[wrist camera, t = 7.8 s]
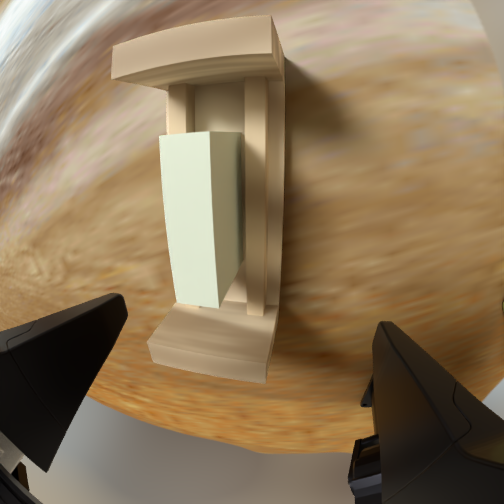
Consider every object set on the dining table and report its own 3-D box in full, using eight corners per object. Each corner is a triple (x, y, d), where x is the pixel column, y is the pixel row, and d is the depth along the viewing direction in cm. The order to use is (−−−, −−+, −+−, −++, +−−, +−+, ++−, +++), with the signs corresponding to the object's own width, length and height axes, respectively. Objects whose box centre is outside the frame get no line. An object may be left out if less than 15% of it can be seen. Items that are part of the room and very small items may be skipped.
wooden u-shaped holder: (278, 319, 23) (265, 383, 16) (188, 308, 24) (153, 362, 18) (284, 56, 15) (270, 15, 8) (171, 67, 16) (113, 46, 10)
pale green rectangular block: (243, 261, 20) (219, 308, 15) (200, 257, 21) (165, 300, 15) (240, 132, 16) (209, 131, 11) (193, 134, 17) (146, 137, 12)
